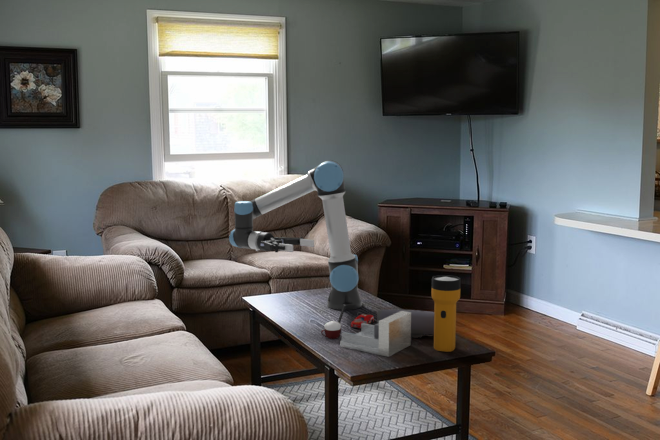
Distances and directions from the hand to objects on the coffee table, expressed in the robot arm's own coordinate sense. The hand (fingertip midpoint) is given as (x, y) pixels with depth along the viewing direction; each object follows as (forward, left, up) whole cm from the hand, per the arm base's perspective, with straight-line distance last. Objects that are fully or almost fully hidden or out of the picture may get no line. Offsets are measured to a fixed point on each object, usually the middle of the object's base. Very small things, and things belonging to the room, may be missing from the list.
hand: (303, 246), depth 267 cm
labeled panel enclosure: (+6, +37, -32) cm, 49 cm away
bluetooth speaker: (-11, +41, -32) cm, 53 cm away
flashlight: (-5, +59, -32) cm, 67 cm away
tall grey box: (+6, +39, -30) cm, 49 cm away
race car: (-14, +19, -32) cm, 40 cm away
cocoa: (+7, +19, -32) cm, 38 cm away
